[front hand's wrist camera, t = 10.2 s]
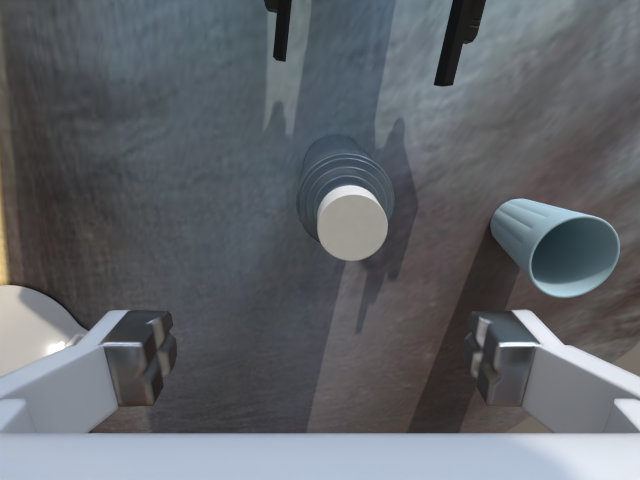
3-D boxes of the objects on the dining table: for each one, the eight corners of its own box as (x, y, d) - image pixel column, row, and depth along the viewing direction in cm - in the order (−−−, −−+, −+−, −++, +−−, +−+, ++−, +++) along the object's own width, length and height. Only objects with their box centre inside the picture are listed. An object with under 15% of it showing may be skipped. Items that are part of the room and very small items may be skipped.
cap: (307, 199, 22) (306, 210, 20) (368, 174, 22) (373, 183, 20) (331, 255, 24) (332, 270, 22) (389, 233, 23) (397, 246, 21)
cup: (473, 252, 43) (519, 296, 34) (487, 186, 41) (541, 213, 31) (538, 256, 44) (603, 300, 34) (556, 190, 41) (632, 218, 31)
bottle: (293, 149, 39) (271, 194, 20) (353, 123, 39) (389, 145, 20) (318, 207, 42) (319, 296, 23) (375, 184, 41) (427, 256, 22)
